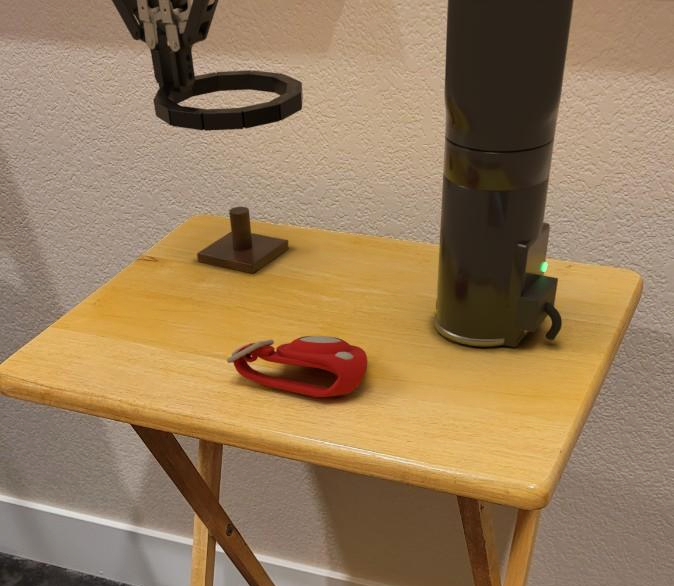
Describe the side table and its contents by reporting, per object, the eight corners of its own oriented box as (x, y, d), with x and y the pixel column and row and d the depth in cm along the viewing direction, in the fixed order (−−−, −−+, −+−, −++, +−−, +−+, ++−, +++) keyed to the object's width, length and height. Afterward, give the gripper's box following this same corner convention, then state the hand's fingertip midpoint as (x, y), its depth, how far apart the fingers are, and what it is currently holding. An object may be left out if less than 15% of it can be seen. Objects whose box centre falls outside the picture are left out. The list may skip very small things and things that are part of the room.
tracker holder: (333, 328, 85) (394, 344, 77) (332, 374, 87) (390, 394, 79) (218, 333, 79) (272, 352, 71) (219, 383, 81) (271, 406, 73)
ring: (328, 94, 92) (328, 78, 91) (250, 138, 83) (248, 120, 82) (213, 80, 97) (211, 65, 96) (127, 119, 88) (124, 103, 87)
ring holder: (288, 248, 102) (285, 204, 98) (253, 273, 97) (248, 227, 93) (235, 237, 104) (230, 193, 101) (197, 261, 100) (191, 216, 96)
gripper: (60, -121, 80) (102, 92, 92) (180, -120, 75) (209, 106, 87) (114, -130, 85) (147, 74, 97) (230, -129, 79) (251, 86, 92)
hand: (176, 88), depth 92 cm, fingers closed on ring, 1 cm apart
